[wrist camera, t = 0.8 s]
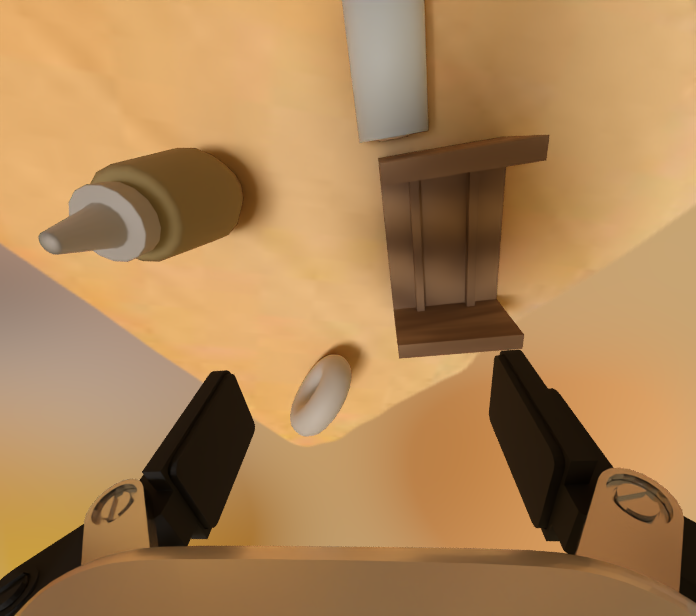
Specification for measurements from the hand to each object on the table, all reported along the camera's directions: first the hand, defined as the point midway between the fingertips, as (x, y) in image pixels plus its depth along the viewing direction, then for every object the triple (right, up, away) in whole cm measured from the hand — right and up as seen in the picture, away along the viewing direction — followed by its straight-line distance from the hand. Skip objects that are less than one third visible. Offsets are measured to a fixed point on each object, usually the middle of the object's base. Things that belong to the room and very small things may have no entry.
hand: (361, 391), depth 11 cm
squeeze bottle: (-14, +15, +20) cm, 29 cm away
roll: (+2, +21, +12) cm, 25 cm away
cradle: (+9, +10, +20) cm, 24 cm away
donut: (-3, -5, +30) cm, 30 cm away
